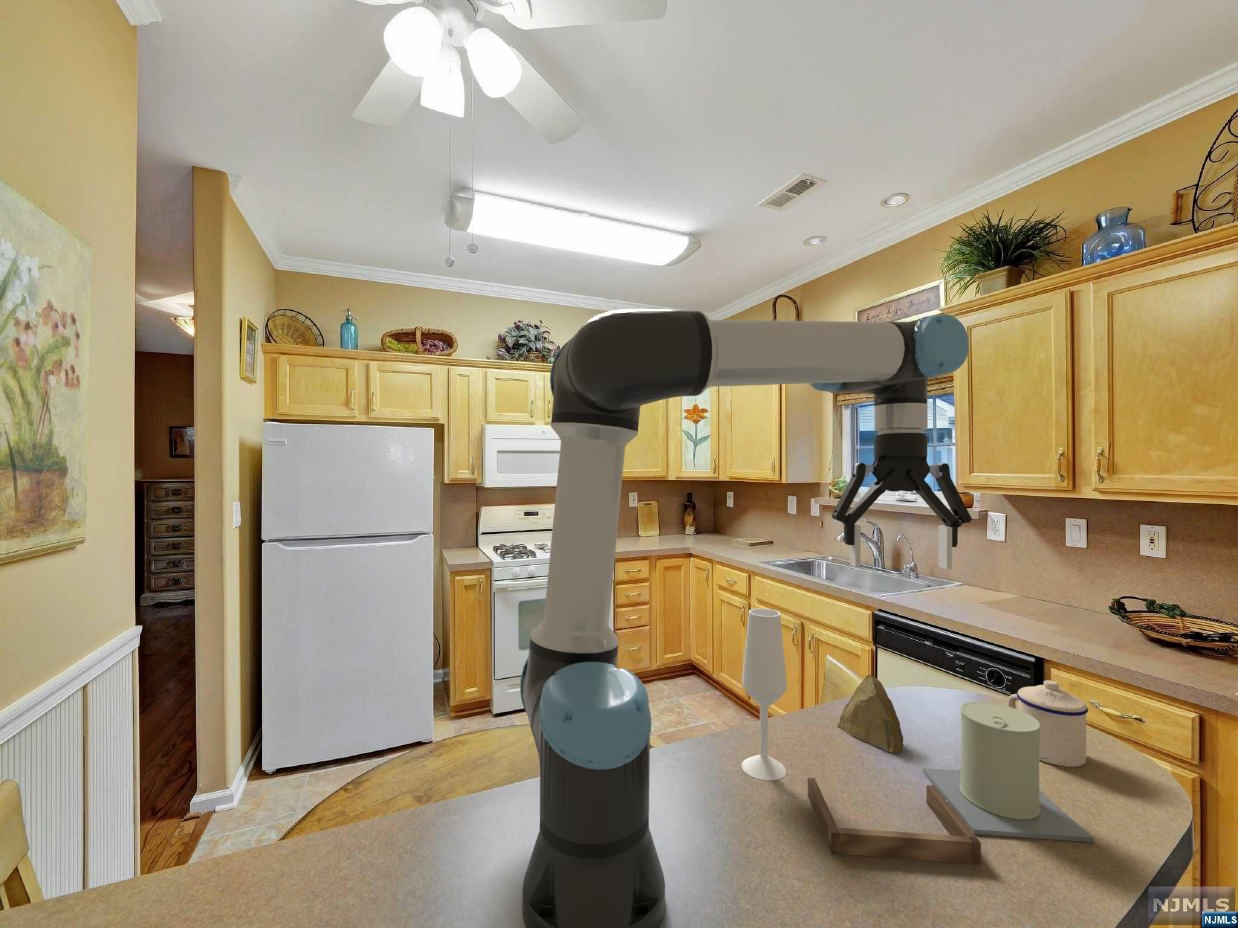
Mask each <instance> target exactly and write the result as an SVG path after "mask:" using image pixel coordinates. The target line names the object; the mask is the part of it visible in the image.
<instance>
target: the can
mask: <svg viewBox="0 0 1238 928" xmlns="http://www.w3.org/2000/svg"><path fill="white" fill-rule="evenodd" d="M959 709H960V723H961V724H960V726H961V727H960V732H961V733H960V736H961V737H960V739H961V740H960V744H961V745H960V747H961V748H960V749H961V752H960V765H961V766H960V770H961V782H960V791H961V793H962V794H963V796H964V797H965V798H966V799H967V800H968V801H970V802H971V803H972V804H974V805H976V806H977V807H979V808H981V809H983V810H985V811H987V812H989V813H992V814H995V815H998V816H1001V817H1005V818H1009V819H1016V820H1030V819H1034V818H1036V817H1038V816H1039V815H1040V813H1041V808H1040V803H1039V790H1040V760H1039V746H1040V728H1041V725H1040V723H1039V722H1038V721H1037V720H1036V719H1035V718H1034V717H1032V716H1031V715H1029V714H1027V713H1025V712H1023V711H1020V710H1018V709H1017V708H1016V709H1015V708H1011V707H1008V705H1004V704H999V703H995V702H990V701H989V702H988V701H987V702H986V701H969V702H965V703H963V704H962V705H961V706H960V708H959Z"/></svg>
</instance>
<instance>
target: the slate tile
mask: <svg viewBox="0 0 1238 928" xmlns="http://www.w3.org/2000/svg"><path fill="white" fill-rule="evenodd" d="M922 772H923V774H924V775H925V776H926V778H927V779H928V780H929V781H930V782H931V784H932V785H934V786H935V787H936V788H937V790H938V791H939V792H940V793H941V794H942V796H943V797H944V798H945V799H946V800H947V801H948V803H949V804H950V805H951V807H952V808H953V809H954V810H955V812H956V813H957V814H958V815H959V817H960V818H961V819H962V820H963V821H964V823H965V824H966V825H967V826H968V828H969V829H970V830H971V831H972V832H973V834H974V835H982V836H984V835H985V836H998V837H1010V838H1011V837H1012V838H1013V837H1014V838H1025V839H1026V838H1027V839H1041V840H1053V841H1054V840H1057V841H1067V842H1068V841H1069V842H1070V841H1072V842H1081V843H1082V842H1083V843H1085V842H1086V843H1093V842H1094V836H1093V835H1091V834H1090V833H1089V832H1087V831H1086V830H1085V829H1084V828H1083V827H1082V826H1081V825H1080V824H1079V823H1078V822H1076V821H1075V820H1074V819H1073V818H1072V817H1070V816H1069V814H1068V813H1066V811H1064V810H1062V808H1060V806H1058V805H1057V804H1056V803H1055V802H1054V801H1052V800H1051V799H1050V798H1049V797H1048V796H1047V795H1046V794H1045V793H1044V792H1042V791H1041V789H1039V803H1040V808H1041V813H1040V815H1039V816H1038V817H1036V818H1034V819H1030V820H1016V819H1009V818H1005V817H1001V816H998V815H995V814H992V813H989V812H987V811H985V810H983V809H981V808H979V807H977V806H976V805H974V804H972V803H971V802H970V801H968V800H967V799H966V798H965V797H964V796H963V794H962V793H961V791H960V782H961V769H960V770H959V769H942V768H928V767H927V768H924V767H923V768H922Z"/></svg>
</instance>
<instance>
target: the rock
mask: <svg viewBox="0 0 1238 928" xmlns="http://www.w3.org/2000/svg"><path fill="white" fill-rule="evenodd" d="M836 726H837V728H840V729H842V730H844V731H845V732H846V733H848V734H849V735H850V736H852V737H854V738H857V739H859V740H861V741H863V742H866V743H868V744H871V745H873V746H875V747H878V748H881V749H882V750H884V751H886V752H889V753H892V754H896V753H897V754H898V753H899V754H900V753H903V751H904V735H903V734H902V733H903V732H902V729H901V723H900V720H899V717H898V715H897V712H896V710H895V707H894V704H893V702H892V700H891V699H890V698H889V696H888V693H887V691H886V689H885V687H884V686H883V684H882V682H881V681H880V680H879V679H878V678H876V677H875V676H872V674H867V675H866V676H865V677H864V679H863V680H862V681H861V682H860V683H859V685H858V686H857V687H856V688H855V690H854V692H853V694H852V696H851V698H850V700H849V701H848V702H847V703H846V704H845V706H844V707H843V710H842V713H841V715H840V717H839V721H838V722H837V725H836Z"/></svg>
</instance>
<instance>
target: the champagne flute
mask: <svg viewBox="0 0 1238 928" xmlns="http://www.w3.org/2000/svg"><path fill="white" fill-rule="evenodd" d="M747 616H748V617H747V624H746V625H747V626H746V636H745V645H744V655H743V656H744V657H743V665H742V666H743V667H742V676H741V685H742V687H743V688H744V690H745V692H746V693H747V695H748V696H749V698H751V699H752V700H753V701H754V702H755V703H756V704H757V705H758V706H759V754H756V755H753V756H750V757H748V758H746V759H744V760H743V761H742V763H741V768H742V770H743V771H744V772H745V774H747V775H749V776H750V777H752V778H754V779H757V780H762V781H768V782H769V781H771V782H772V781H778V780H781V779H783V778H784V777H785V776H786V775H787V768H786V767H785V766H784V765H783V763H781V762H780V761H778V760H776V759H775V758H773V757H772V756H770V755H768V754H769V752H768V750H769V748H768V747H769V734H768V733H769V732H768V731H769V706H772V705H773V704H774V703H776V702H778V700H780V699H781V698H782V697H783V695H784V694H785V693H786V691H787V687H788V684H787V683H788V682H787V672H786V661H785V659H786V658H785V650H784V638H783V637H784V636H783V628H782V627H783V626H782V615H781V612H780V611H778V610H776V609H772V608H762V607H761V608H759V607H758V608H752V609H750V610H748V615H747Z"/></svg>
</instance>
